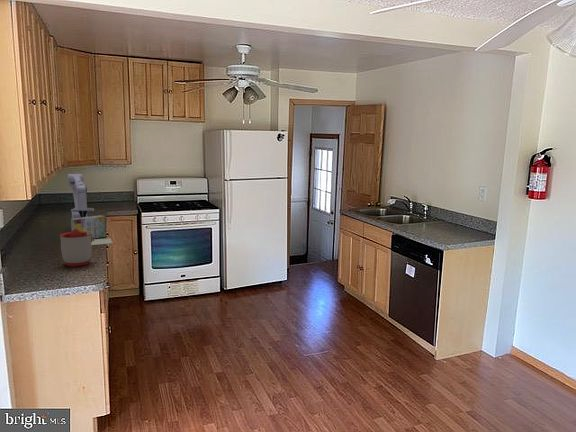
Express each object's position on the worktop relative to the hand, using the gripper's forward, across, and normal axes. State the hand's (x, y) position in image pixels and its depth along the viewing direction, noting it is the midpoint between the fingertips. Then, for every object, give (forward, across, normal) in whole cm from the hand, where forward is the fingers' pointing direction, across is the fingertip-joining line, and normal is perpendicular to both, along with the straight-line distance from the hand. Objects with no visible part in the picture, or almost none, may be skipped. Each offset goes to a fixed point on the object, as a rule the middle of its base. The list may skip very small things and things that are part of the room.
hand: (83, 221), depth 315 cm
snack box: (+11, +3, -10) cm, 15 cm away
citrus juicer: (+13, -7, -74) cm, 76 cm away
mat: (+11, +3, -22) cm, 25 cm away
